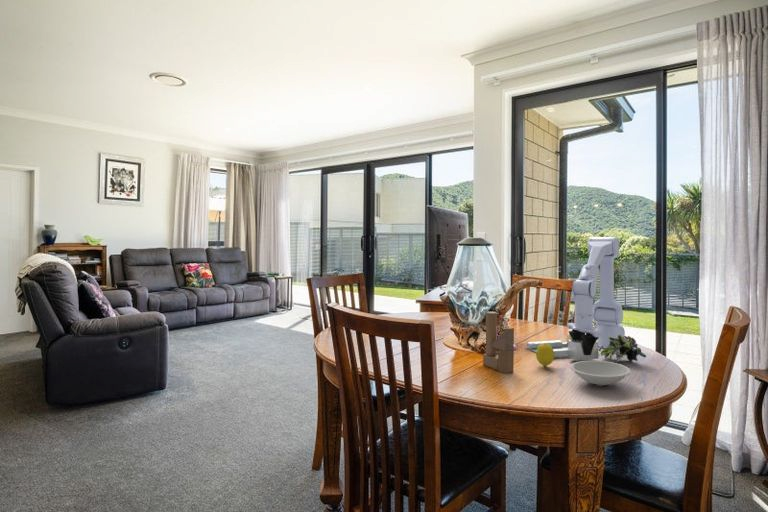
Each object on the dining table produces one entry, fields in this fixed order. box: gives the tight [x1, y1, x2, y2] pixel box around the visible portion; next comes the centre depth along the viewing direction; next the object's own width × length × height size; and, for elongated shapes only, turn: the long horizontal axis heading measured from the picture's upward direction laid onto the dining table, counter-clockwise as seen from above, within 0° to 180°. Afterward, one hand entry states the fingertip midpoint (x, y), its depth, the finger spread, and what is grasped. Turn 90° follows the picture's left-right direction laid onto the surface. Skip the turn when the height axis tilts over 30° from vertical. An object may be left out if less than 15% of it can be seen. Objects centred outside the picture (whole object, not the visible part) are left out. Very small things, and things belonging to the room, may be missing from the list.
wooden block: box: [482, 311, 515, 374], centre depth 135 cm, size 4×11×18 cm, turn 26°
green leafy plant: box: [598, 335, 647, 363], centre depth 141 cm, size 11×11×12 cm
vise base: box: [524, 346, 601, 359], centre depth 155 cm, size 21×15×2 cm
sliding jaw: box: [526, 333, 572, 349], centre depth 160 cm, size 20×2×4 cm, turn 103°
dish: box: [570, 359, 631, 387], centre depth 119 cm, size 18×14×5 cm
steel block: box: [567, 339, 599, 361], centre depth 143 cm, size 9×4×6 cm, turn 103°
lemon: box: [535, 343, 555, 368], centre depth 136 cm, size 6×6×8 cm
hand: (583, 353), depth 143 cm, fingers closed on steel block, 4 cm apart
